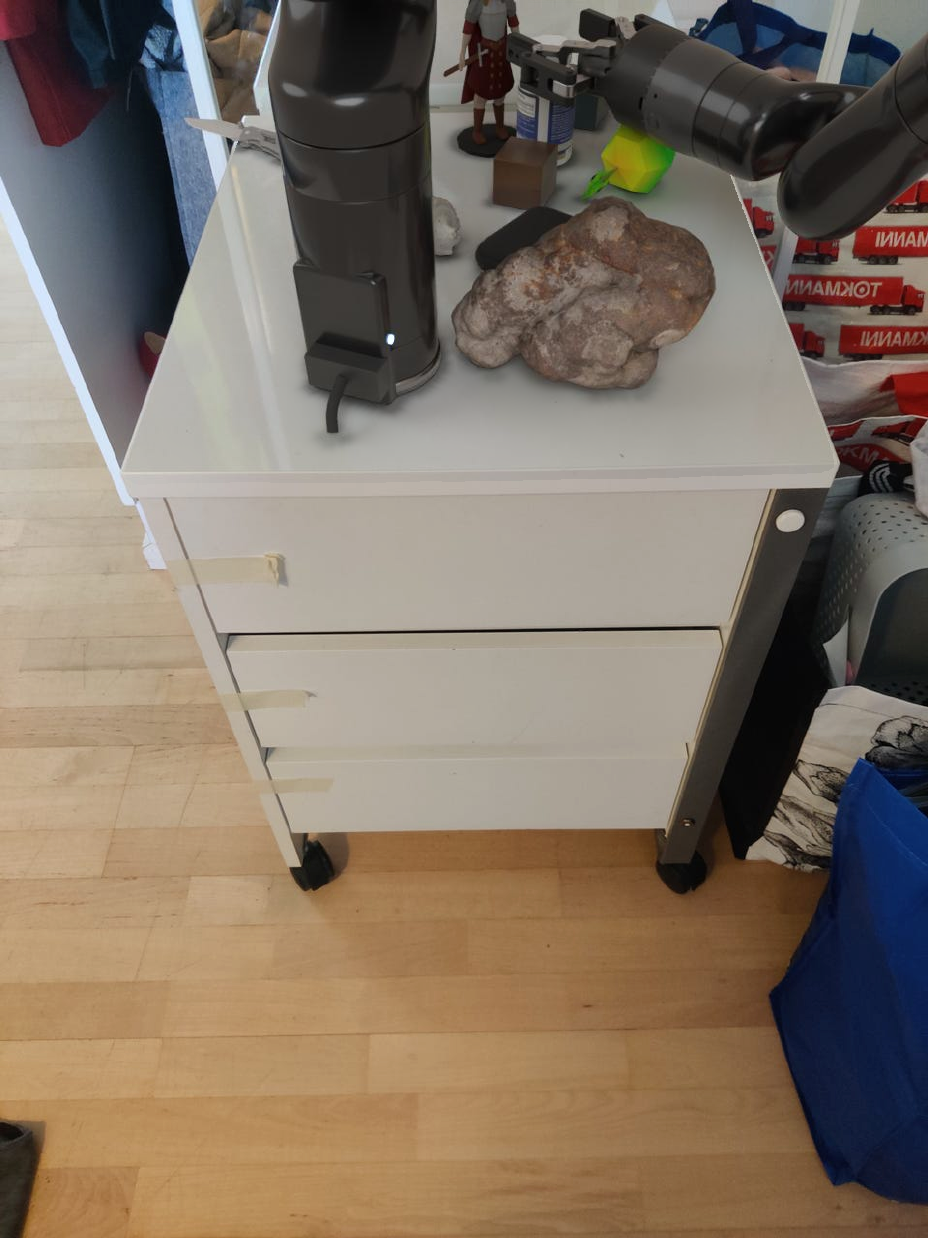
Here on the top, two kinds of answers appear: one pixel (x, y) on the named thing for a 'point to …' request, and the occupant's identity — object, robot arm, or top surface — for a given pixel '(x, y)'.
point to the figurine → (486, 73)
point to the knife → (239, 134)
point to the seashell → (445, 226)
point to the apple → (631, 163)
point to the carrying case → (518, 235)
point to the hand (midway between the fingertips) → (546, 33)
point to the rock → (590, 298)
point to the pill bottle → (546, 114)
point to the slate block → (589, 110)
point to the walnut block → (524, 173)
